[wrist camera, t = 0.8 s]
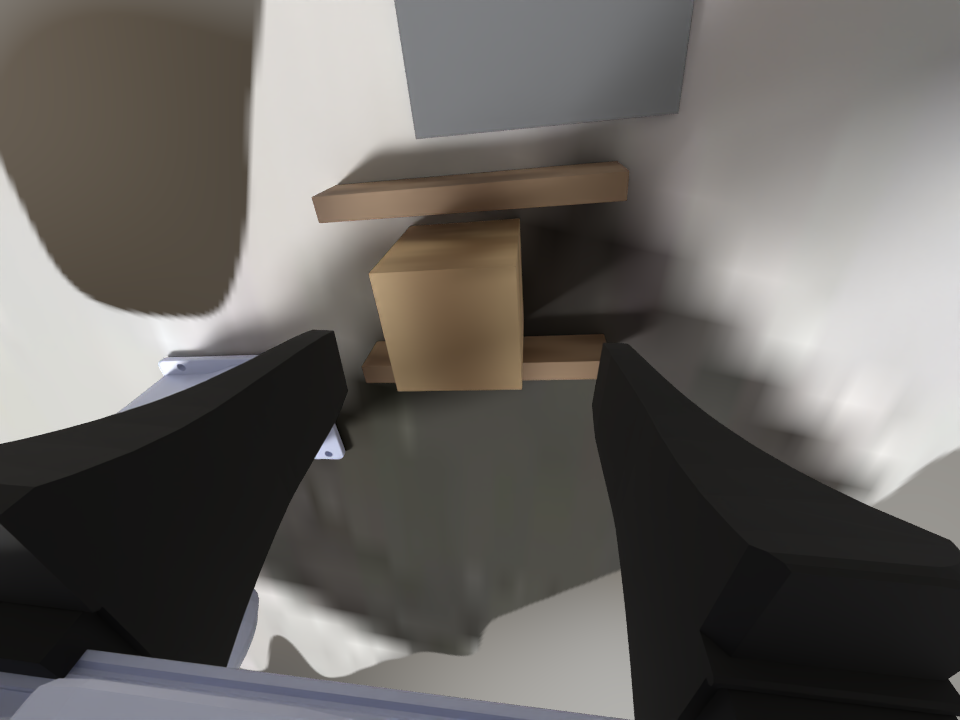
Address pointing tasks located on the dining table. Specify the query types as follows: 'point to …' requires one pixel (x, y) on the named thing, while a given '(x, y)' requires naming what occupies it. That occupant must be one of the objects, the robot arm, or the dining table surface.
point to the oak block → (453, 306)
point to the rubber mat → (540, 61)
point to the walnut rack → (486, 194)
